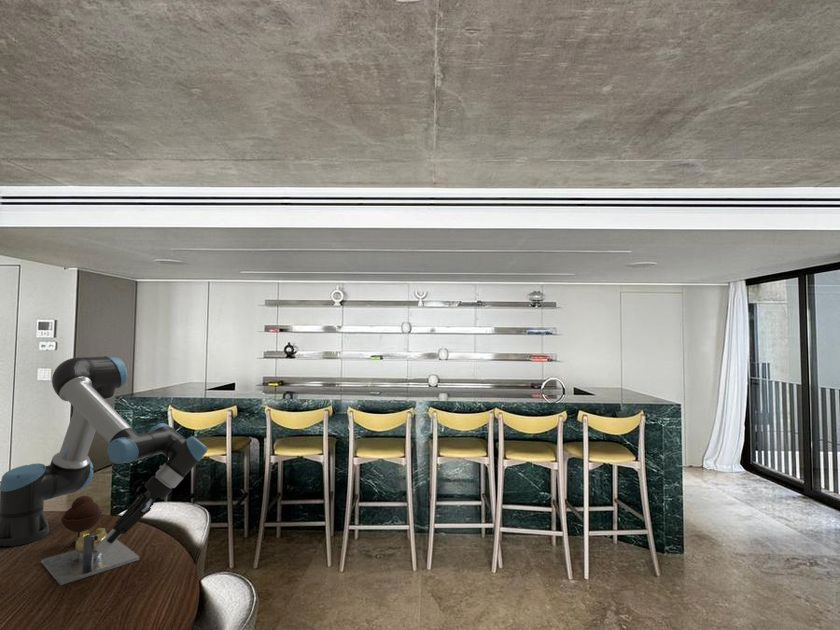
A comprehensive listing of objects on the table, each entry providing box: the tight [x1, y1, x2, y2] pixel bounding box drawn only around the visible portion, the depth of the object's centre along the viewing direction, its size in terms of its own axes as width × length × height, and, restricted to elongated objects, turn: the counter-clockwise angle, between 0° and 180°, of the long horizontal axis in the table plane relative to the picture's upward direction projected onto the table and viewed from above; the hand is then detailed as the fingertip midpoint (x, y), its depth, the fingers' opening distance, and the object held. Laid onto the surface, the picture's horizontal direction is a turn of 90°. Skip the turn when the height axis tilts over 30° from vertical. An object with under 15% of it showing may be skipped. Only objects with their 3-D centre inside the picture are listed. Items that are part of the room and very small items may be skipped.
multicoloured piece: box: [74, 527, 108, 573], centre depth 143 cm, size 15×8×10 cm, turn 30°
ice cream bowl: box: [61, 495, 103, 548], centre depth 159 cm, size 11×11×15 cm
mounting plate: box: [40, 539, 140, 586], centre depth 146 cm, size 20×20×4 cm
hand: (99, 550), depth 140 cm, fingers closed
